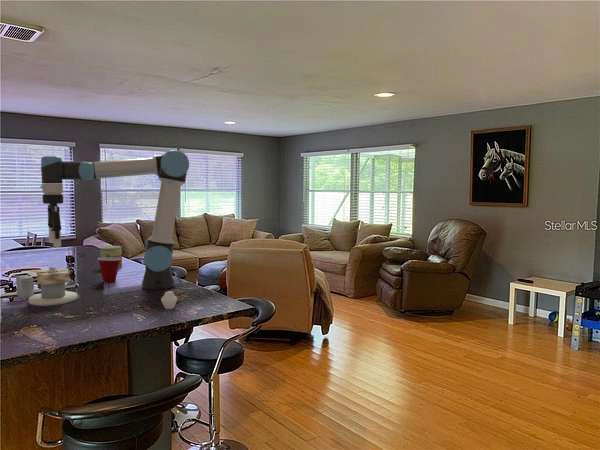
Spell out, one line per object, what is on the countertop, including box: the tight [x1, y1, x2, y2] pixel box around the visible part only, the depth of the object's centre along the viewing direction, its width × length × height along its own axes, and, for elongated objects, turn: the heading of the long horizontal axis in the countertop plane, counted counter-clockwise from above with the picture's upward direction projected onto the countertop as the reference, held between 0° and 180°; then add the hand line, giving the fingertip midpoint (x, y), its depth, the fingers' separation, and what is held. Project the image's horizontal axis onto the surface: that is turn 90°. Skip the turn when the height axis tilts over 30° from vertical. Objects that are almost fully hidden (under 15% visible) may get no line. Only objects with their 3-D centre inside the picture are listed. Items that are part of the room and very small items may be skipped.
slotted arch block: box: [36, 267, 71, 286], centre depth 186 cm, size 11×11×4 cm
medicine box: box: [15, 274, 35, 300], centre depth 191 cm, size 8×4×9 cm, turn 47°
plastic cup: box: [97, 257, 121, 284], centre depth 222 cm, size 11×11×12 cm
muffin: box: [160, 290, 178, 310], centre depth 178 cm, size 6×6×7 cm
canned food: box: [100, 245, 123, 270], centre depth 258 cm, size 11×11×12 cm
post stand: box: [27, 265, 78, 307], centre depth 186 cm, size 18×18×14 cm
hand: (55, 244), depth 187 cm, fingers open, 13 cm apart
